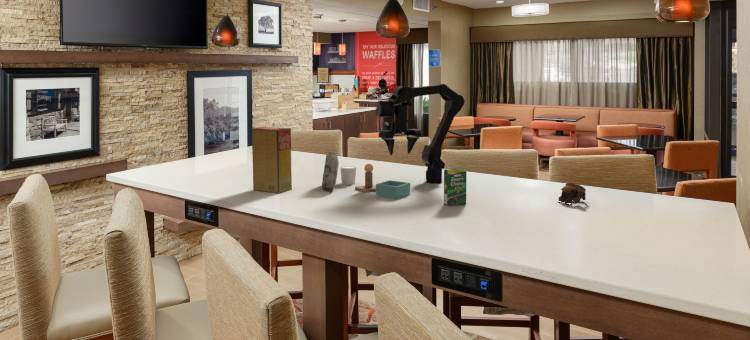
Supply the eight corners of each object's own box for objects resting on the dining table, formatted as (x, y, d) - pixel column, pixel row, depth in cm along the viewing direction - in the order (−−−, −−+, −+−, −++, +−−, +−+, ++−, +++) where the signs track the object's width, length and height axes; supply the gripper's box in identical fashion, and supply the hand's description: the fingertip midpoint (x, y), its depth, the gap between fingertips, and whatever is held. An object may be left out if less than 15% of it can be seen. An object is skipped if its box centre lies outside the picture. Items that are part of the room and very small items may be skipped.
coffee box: (446, 206, 204) (447, 169, 202) (442, 204, 207) (443, 168, 205) (466, 204, 207) (467, 168, 205) (462, 202, 210) (463, 167, 208)
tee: (372, 187, 238) (372, 170, 237) (382, 190, 231) (382, 173, 230) (355, 189, 234) (355, 172, 232) (365, 192, 227) (365, 175, 226)
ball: (373, 172, 233) (373, 163, 232) (372, 173, 229) (372, 164, 228) (365, 171, 233) (365, 162, 233) (363, 173, 230) (363, 164, 229)
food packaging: (293, 189, 233) (291, 127, 228) (278, 193, 225) (277, 129, 220) (267, 186, 239) (265, 126, 235) (252, 190, 231) (249, 128, 227)
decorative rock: (323, 184, 243) (323, 149, 240) (339, 184, 243) (339, 149, 240) (320, 192, 227) (319, 154, 224) (336, 192, 227) (336, 154, 224)
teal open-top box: (389, 191, 229) (389, 180, 229) (410, 194, 224) (410, 182, 223) (375, 195, 222) (375, 184, 221) (396, 198, 216) (397, 186, 215)
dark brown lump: (551, 202, 214) (559, 181, 215) (572, 212, 215) (580, 192, 217) (568, 200, 202) (576, 179, 204) (591, 211, 204) (599, 190, 205)
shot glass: (354, 185, 242) (354, 168, 241) (338, 184, 243) (338, 168, 242) (358, 182, 248) (358, 166, 247) (342, 181, 250) (342, 165, 249)
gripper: (407, 115, 251) (406, 150, 254) (371, 116, 241) (370, 153, 243) (423, 116, 242) (422, 153, 244) (386, 118, 232) (386, 156, 234)
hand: (400, 154), depth 242 cm, fingers open, 9 cm apart
